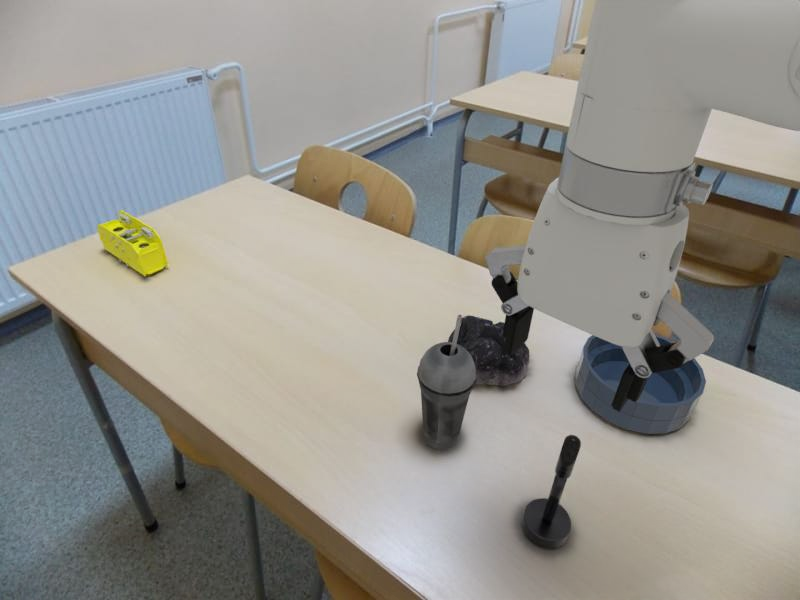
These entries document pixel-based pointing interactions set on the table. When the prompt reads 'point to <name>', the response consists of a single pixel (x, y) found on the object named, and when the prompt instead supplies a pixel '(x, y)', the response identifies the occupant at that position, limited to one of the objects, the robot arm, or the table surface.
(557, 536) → the disc-capped black rod
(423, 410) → the beverage cup
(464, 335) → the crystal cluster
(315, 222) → the table surface
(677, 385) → the bowl
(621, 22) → the robot arm
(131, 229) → the yellow toy chassis
